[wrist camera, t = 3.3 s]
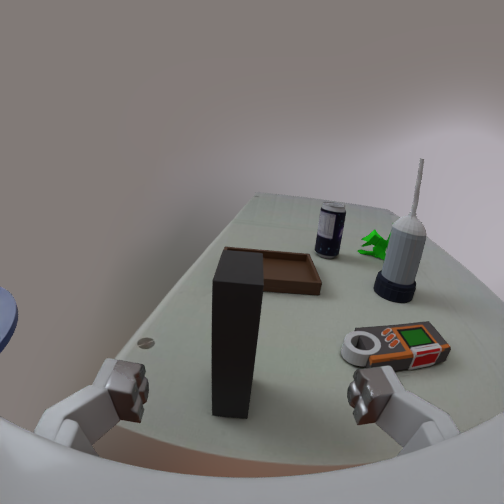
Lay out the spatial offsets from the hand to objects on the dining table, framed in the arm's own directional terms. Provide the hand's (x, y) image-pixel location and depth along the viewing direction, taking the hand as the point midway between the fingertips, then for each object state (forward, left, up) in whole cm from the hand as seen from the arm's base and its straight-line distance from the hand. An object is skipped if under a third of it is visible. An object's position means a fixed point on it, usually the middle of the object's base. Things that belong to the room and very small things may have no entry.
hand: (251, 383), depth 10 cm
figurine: (+31, +55, -14) cm, 65 cm away
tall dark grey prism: (-1, +11, -14) cm, 18 cm away
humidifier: (+27, +36, -14) cm, 47 cm away
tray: (+3, +40, -14) cm, 43 cm away
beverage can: (+17, +53, -14) cm, 58 cm away
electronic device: (+19, +18, -14) cm, 30 cm away
